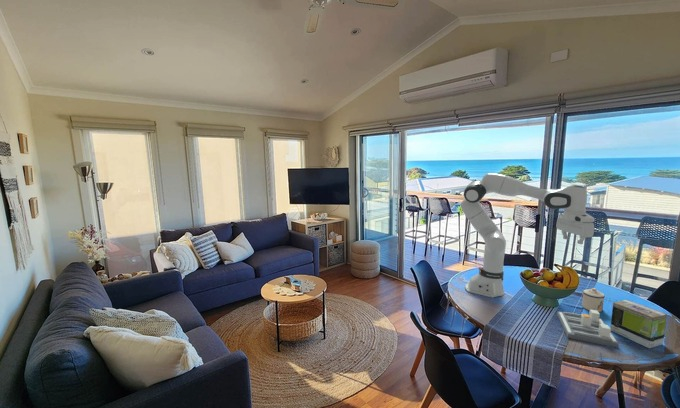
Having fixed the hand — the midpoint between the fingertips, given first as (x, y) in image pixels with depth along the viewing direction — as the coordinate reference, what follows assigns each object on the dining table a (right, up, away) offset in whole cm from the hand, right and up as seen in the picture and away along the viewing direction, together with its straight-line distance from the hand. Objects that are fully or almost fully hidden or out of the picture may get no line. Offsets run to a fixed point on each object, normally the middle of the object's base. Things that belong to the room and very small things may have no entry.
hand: (572, 241), depth 154 cm
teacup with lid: (+18, -38, +8) cm, 43 cm away
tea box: (+14, -42, -19) cm, 48 cm away
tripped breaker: (-4, -40, -12) cm, 42 cm away
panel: (-4, -42, -12) cm, 43 cm away
